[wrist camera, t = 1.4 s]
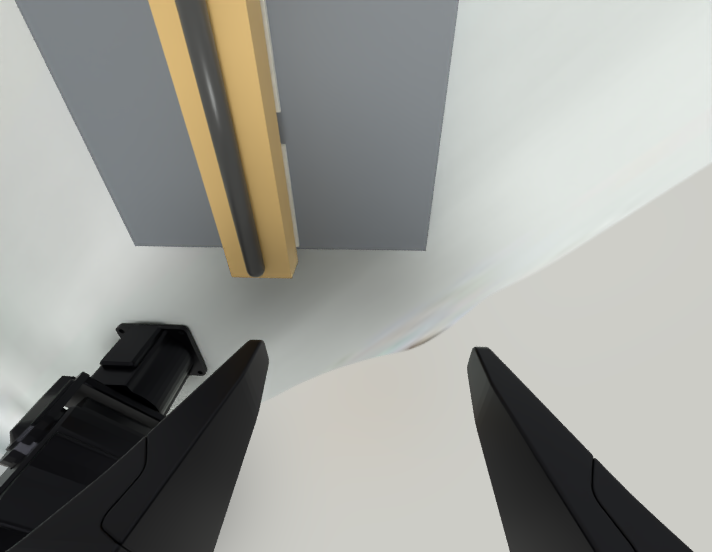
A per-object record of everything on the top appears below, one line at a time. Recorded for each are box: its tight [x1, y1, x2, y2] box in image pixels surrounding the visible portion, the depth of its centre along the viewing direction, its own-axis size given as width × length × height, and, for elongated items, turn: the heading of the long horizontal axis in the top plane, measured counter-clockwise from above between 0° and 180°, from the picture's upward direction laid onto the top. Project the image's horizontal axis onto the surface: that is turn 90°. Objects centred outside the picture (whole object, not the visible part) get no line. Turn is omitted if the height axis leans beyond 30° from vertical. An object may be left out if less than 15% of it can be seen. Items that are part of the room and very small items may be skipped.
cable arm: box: [148, 0, 298, 278], centre depth 13 cm, size 19×4×3 cm, turn 1°
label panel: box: [15, 0, 459, 251], centre depth 16 cm, size 19×20×2 cm
